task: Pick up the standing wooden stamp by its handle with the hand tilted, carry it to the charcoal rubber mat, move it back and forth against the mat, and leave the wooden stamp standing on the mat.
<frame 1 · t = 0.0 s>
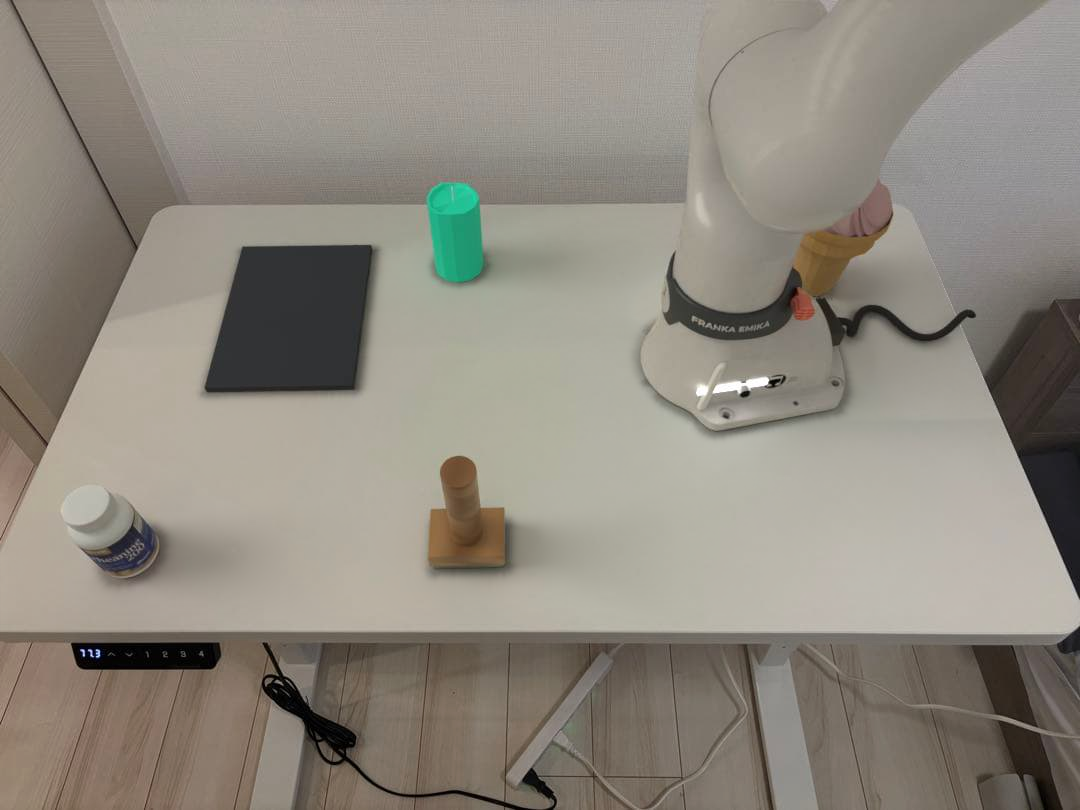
pill bottle: (132, 554, 76), on the table
wooden stamp: (468, 545, 76), on the table
candle: (459, 266, 98), on the table
ice cream cone: (809, 284, 97), on the table
mat: (295, 315, 93), on the table
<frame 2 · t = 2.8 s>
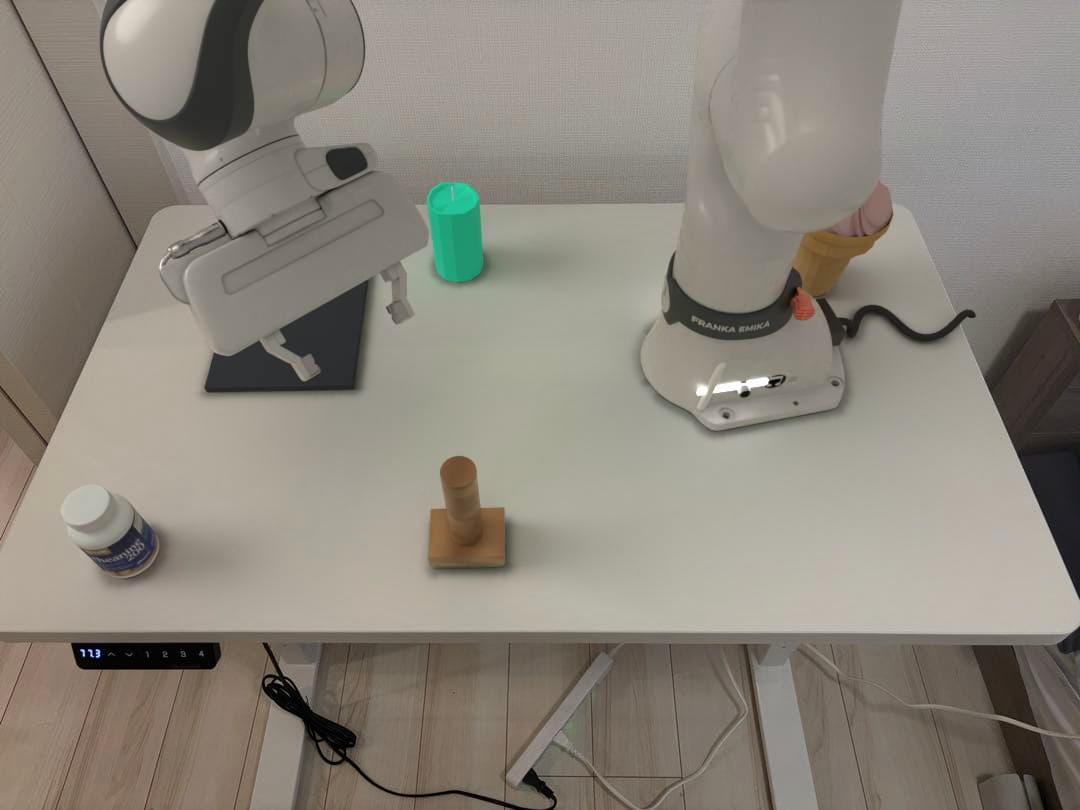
hand: (360, 347, 67), 18 cm above the table, tool tilted 45°, fingers open, 8 cm apart
nothing on the table moved.
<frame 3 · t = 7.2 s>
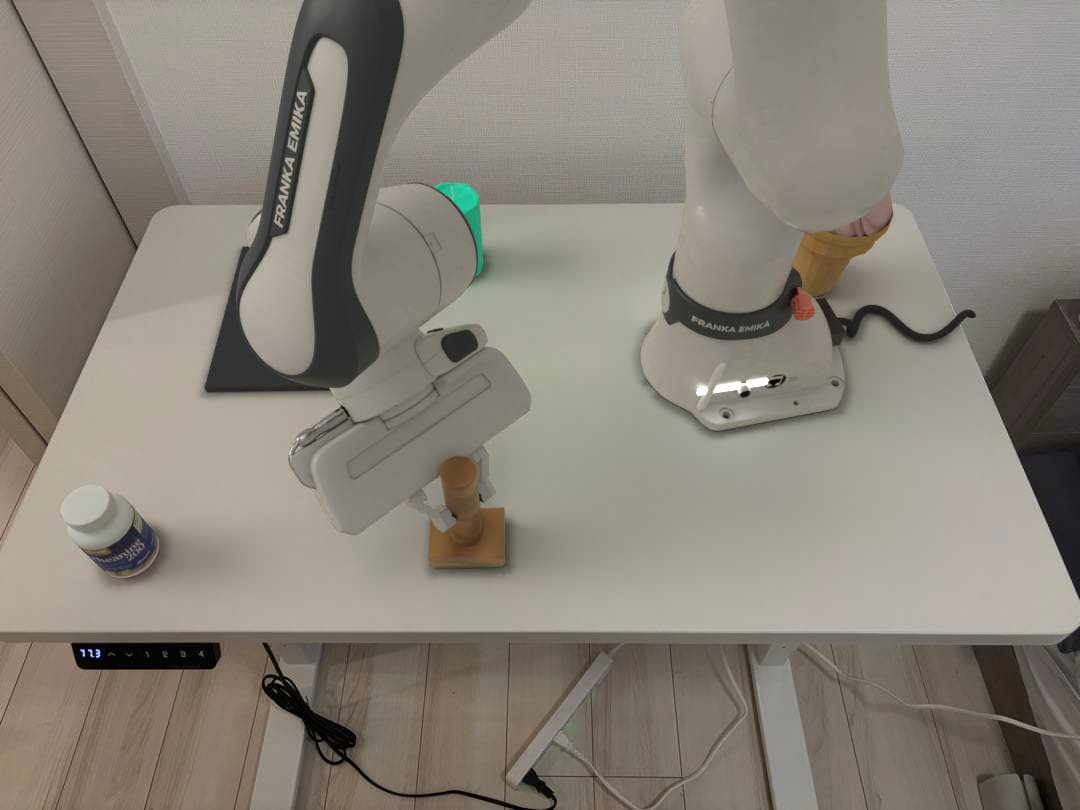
hand: (468, 511, 70), 8 cm above the table, tool tilted 45°, fingers closed on wooden stamp, 3 cm apart
wooden stamp: (468, 545, 76), on the table, touching gripper
everything else where it was.
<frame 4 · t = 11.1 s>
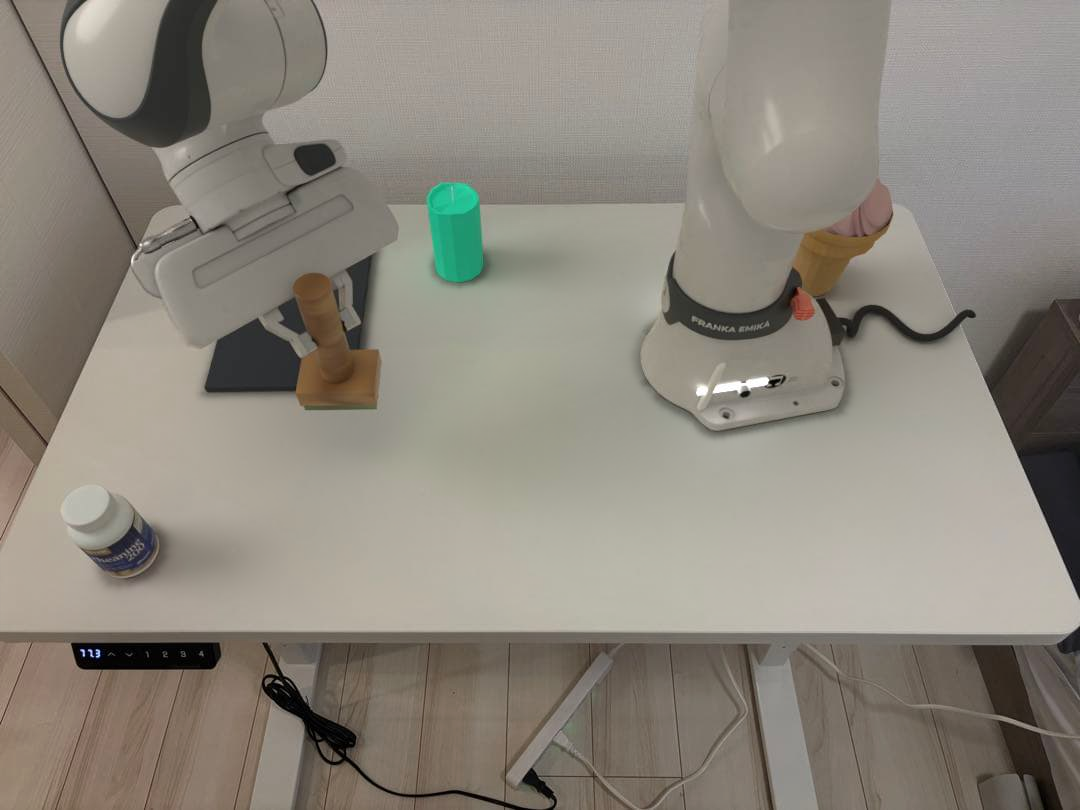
hand: (331, 340, 68), 18 cm above the table, tool tilted 45°, fingers closed on wooden stamp, 3 cm apart
wooden stamp: (343, 390, 75), point 10 cm above the table, touching gripper
everything else where it was.
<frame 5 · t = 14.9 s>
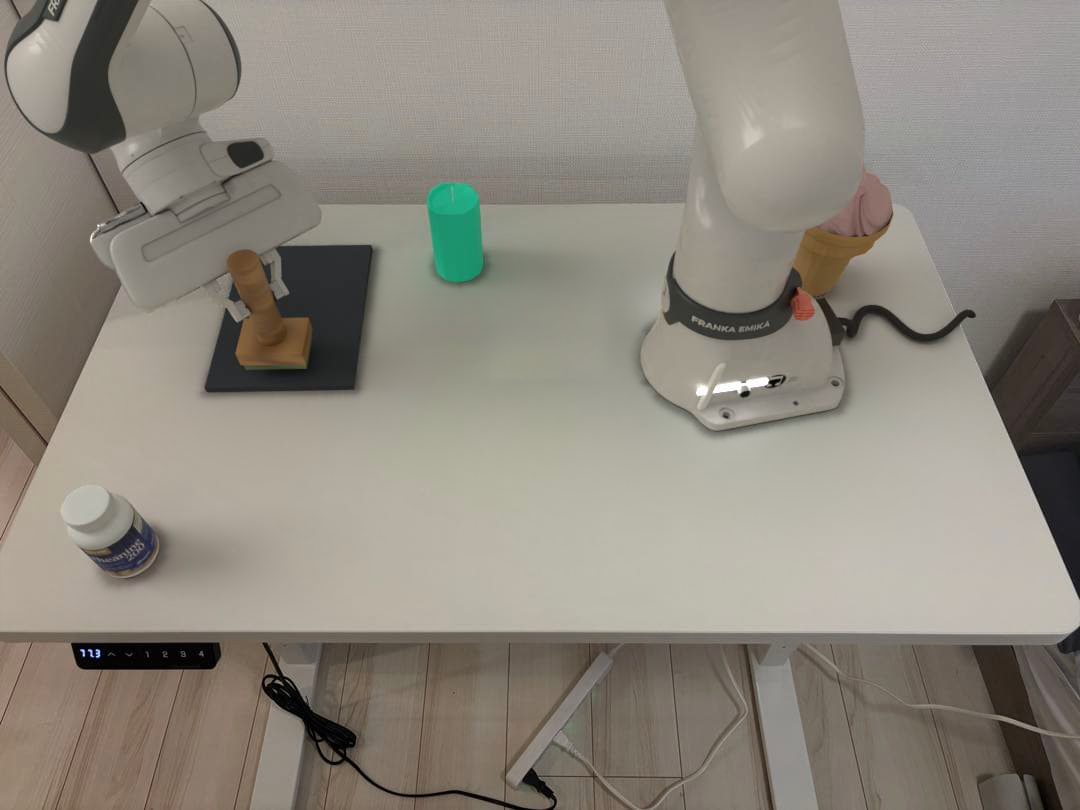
hand: (263, 308, 80), 10 cm above the table, tool tilted 45°, fingers closed on wooden stamp, 3 cm apart
wooden stamp: (279, 353, 87), point 2 cm above the table, touching gripper
everything else where it was.
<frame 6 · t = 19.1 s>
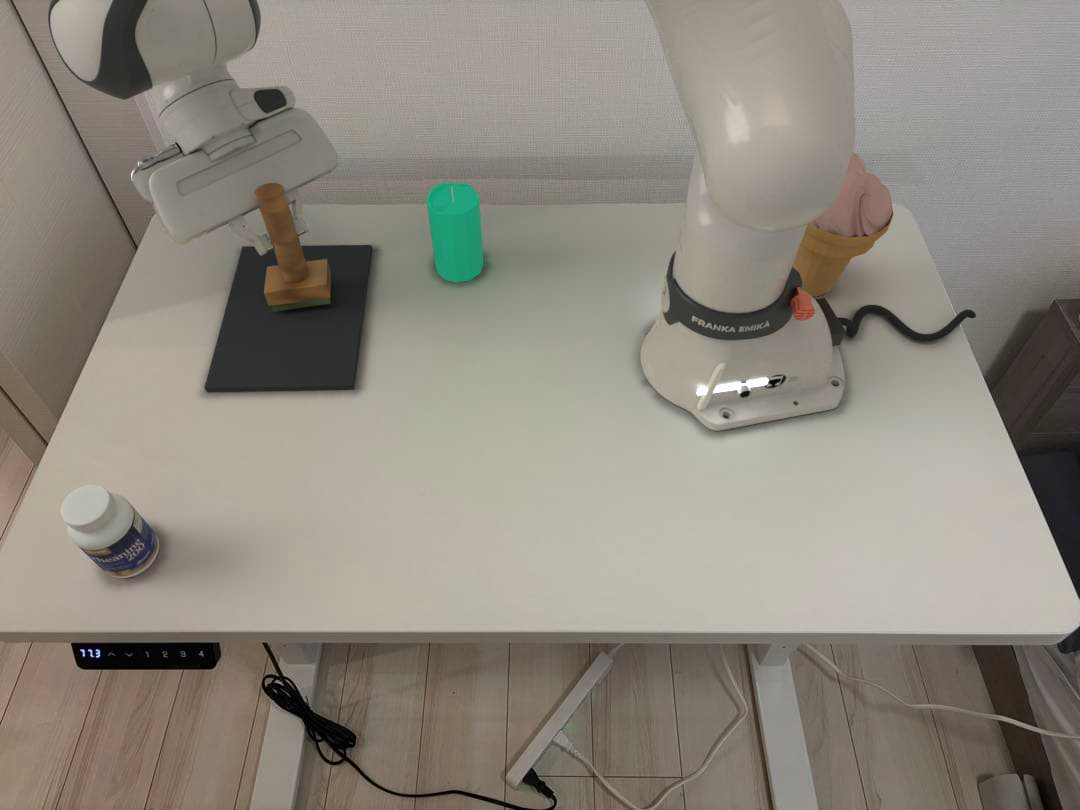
hand: (285, 243, 88), 8 cm above the table, tool tilted 45°, fingers closed on wooden stamp, 3 cm apart
wooden stamp: (302, 295, 93), point 1 cm above the table, tilted 9°, touching gripper, mat
everything else where it was.
when the fingers open (8 cm above the table, at t = 23.0 s): wooden stamp stays where it is, resting on mat.
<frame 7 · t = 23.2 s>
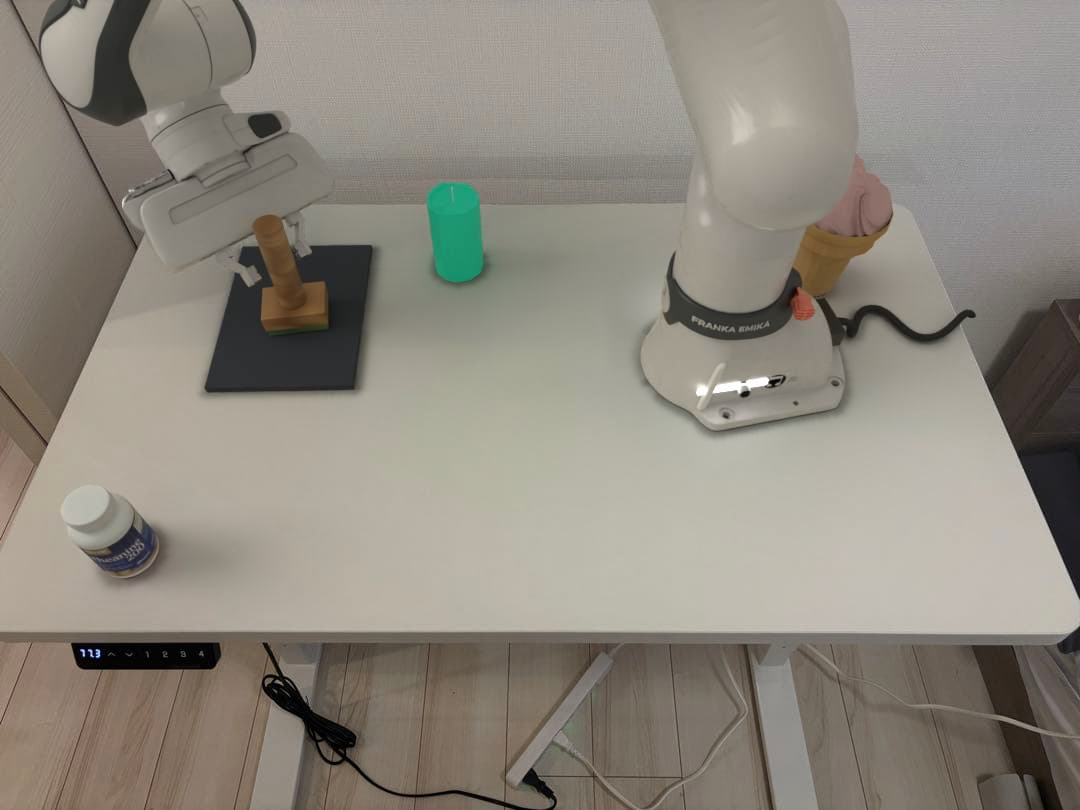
hand: (281, 270, 86), 8 cm above the table, tool tilted 45°, fingers open, 5 cm apart
wooden stamp: (299, 318, 92), point 1 cm above the table, touching mat
everything else where it was.
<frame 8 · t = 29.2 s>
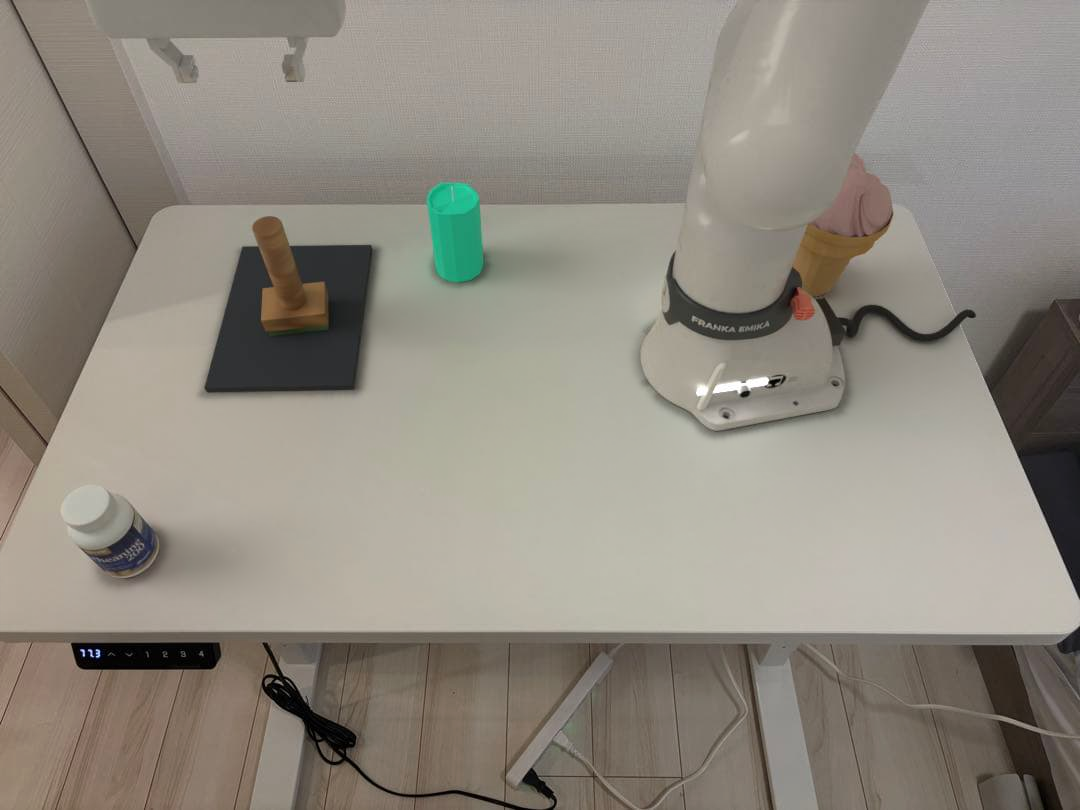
hand: (242, 79, 71), 29 cm above the table, tool pointing down, fingers open, 8 cm apart
nothing on the table moved.
at the end: wooden stamp inside the target area on the mat (1.4 cm from its centre), point 0.8 cm above the mat's base; wooden stamp tilted 0°; wooden stamp moved 35.2 cm from its start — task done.
